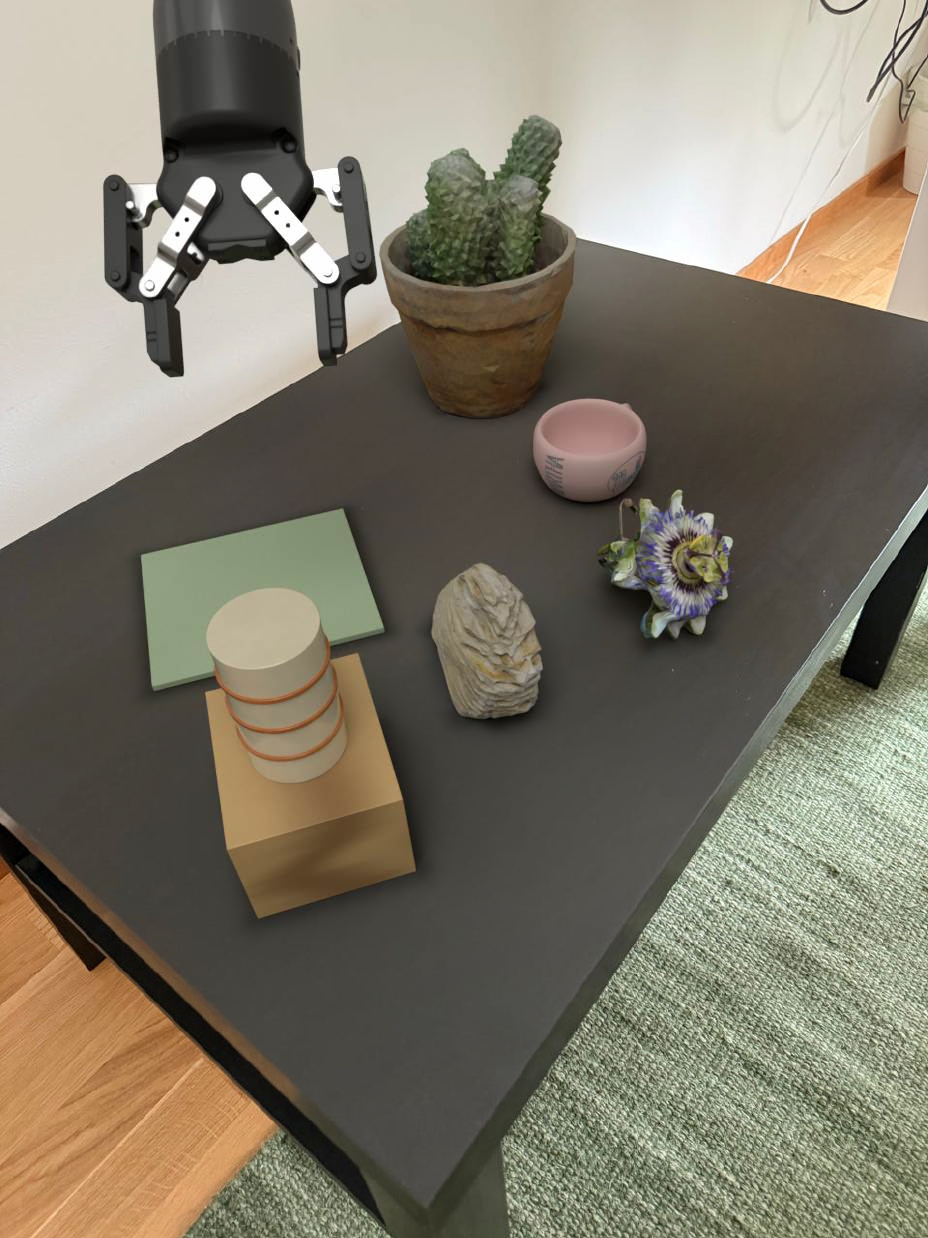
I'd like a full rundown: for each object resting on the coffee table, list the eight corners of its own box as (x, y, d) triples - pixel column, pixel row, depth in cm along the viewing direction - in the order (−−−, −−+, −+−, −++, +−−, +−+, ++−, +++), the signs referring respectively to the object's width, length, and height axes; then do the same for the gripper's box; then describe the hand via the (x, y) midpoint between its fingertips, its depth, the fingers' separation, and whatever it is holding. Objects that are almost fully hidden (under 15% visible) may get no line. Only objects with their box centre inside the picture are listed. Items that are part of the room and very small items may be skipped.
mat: (153, 691, 70) (151, 686, 70) (142, 559, 81) (140, 554, 81) (385, 632, 73) (384, 627, 73) (343, 513, 84) (343, 507, 84)
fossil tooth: (492, 615, 75) (563, 743, 64) (417, 633, 74) (477, 766, 63) (488, 493, 68) (568, 613, 57) (405, 511, 67) (471, 637, 56)
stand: (258, 919, 56) (226, 849, 51) (234, 766, 65) (205, 691, 59) (416, 871, 58) (403, 799, 52) (373, 728, 66) (358, 652, 61)
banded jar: (253, 799, 53) (209, 684, 46) (239, 717, 57) (197, 601, 50) (360, 768, 54) (333, 652, 47) (339, 691, 58) (311, 573, 51)
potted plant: (517, 459, 88) (511, 189, 71) (360, 411, 96) (319, 155, 78) (601, 369, 99) (615, 114, 81) (454, 332, 106) (437, 91, 89)
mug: (604, 529, 80) (607, 473, 76) (511, 490, 85) (510, 435, 81) (673, 461, 87) (680, 406, 82) (584, 428, 91) (586, 374, 87)
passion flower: (684, 674, 75) (681, 655, 64) (570, 608, 78) (548, 579, 67) (756, 555, 75) (766, 516, 64) (639, 494, 79) (629, 446, 67)
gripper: (67, 35, 46) (91, 360, 47) (349, 12, 46) (372, 339, 46) (125, 114, 54) (145, 394, 54) (368, 94, 54) (388, 376, 54)
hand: (250, 368), depth 50 cm, fingers open, 8 cm apart
